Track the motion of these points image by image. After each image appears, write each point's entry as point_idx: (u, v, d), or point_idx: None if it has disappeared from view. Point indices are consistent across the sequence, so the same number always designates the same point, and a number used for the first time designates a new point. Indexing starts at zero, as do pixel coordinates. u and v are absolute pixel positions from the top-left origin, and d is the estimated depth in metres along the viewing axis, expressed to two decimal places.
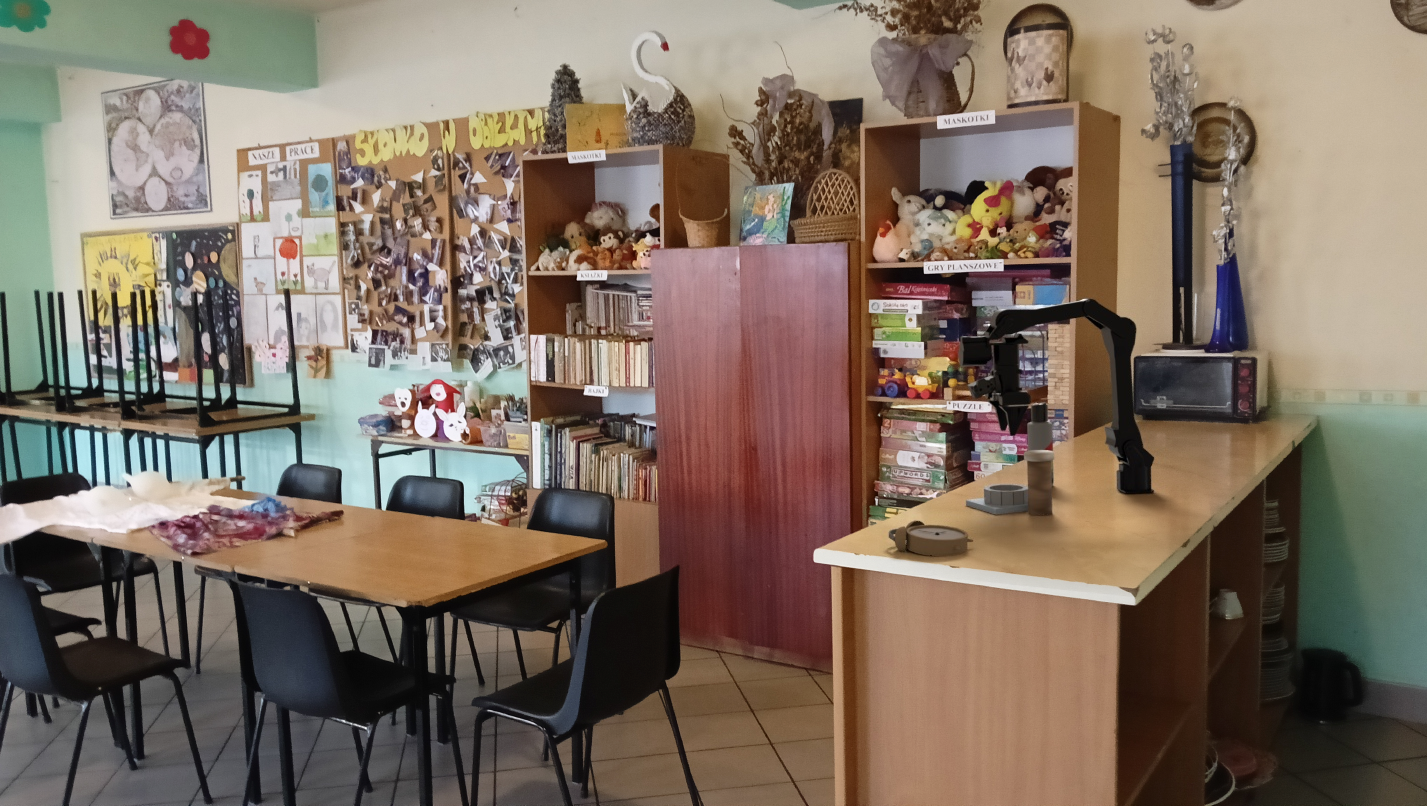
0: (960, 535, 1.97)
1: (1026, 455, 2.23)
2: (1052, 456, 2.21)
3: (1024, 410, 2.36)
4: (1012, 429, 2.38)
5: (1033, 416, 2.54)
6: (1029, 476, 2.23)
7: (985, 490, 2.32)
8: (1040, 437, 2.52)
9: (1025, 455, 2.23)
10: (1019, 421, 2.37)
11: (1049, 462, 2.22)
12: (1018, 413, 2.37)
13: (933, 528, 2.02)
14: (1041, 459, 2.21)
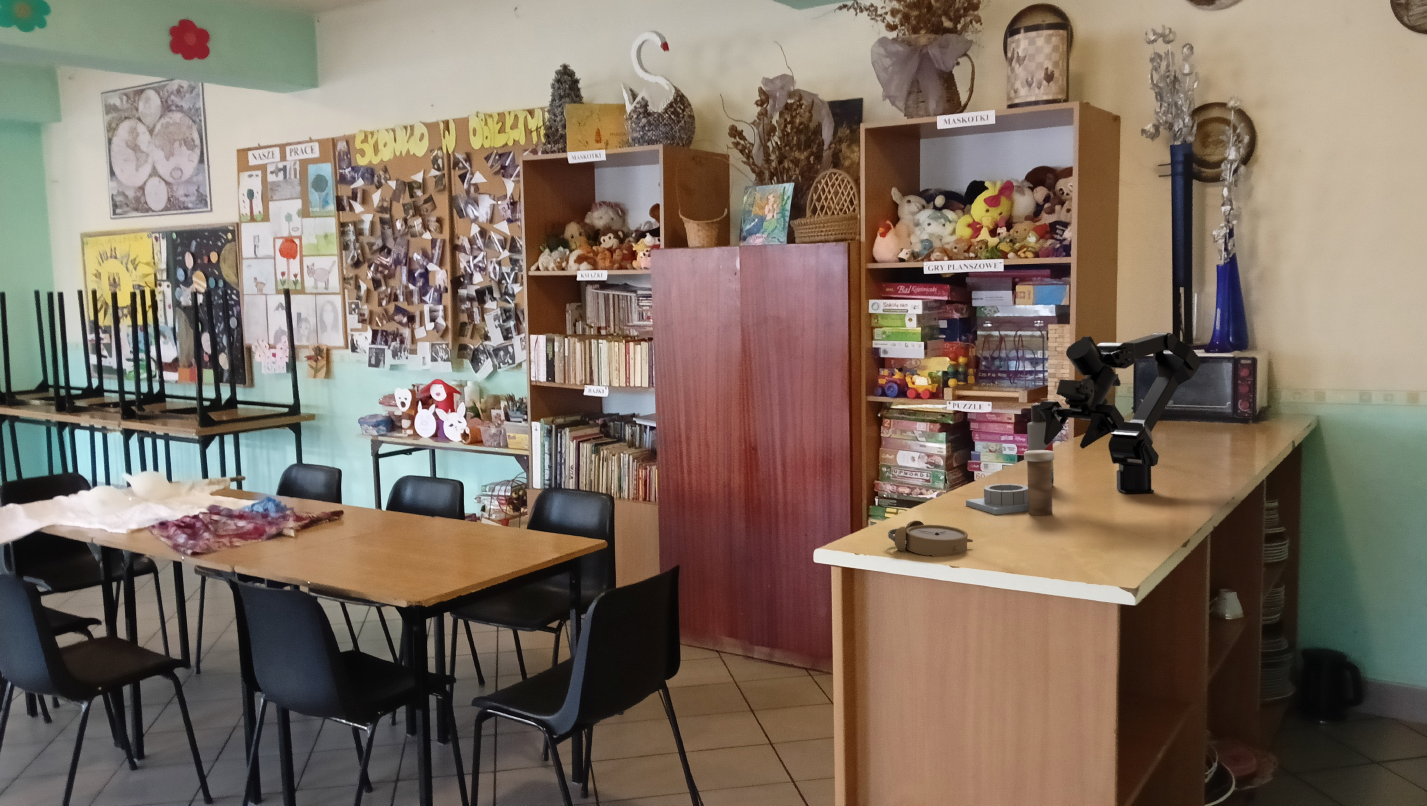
0: (960, 535, 1.97)
1: (1026, 455, 2.23)
2: (1052, 456, 2.21)
3: (1106, 433, 2.25)
4: (1086, 441, 2.24)
5: (1033, 416, 2.54)
6: (1029, 476, 2.23)
7: (985, 490, 2.32)
8: (1040, 437, 2.52)
9: (1025, 455, 2.23)
10: (1095, 439, 2.25)
11: (1049, 462, 2.22)
12: (1099, 431, 2.25)
13: (933, 528, 2.02)
14: (1041, 459, 2.21)
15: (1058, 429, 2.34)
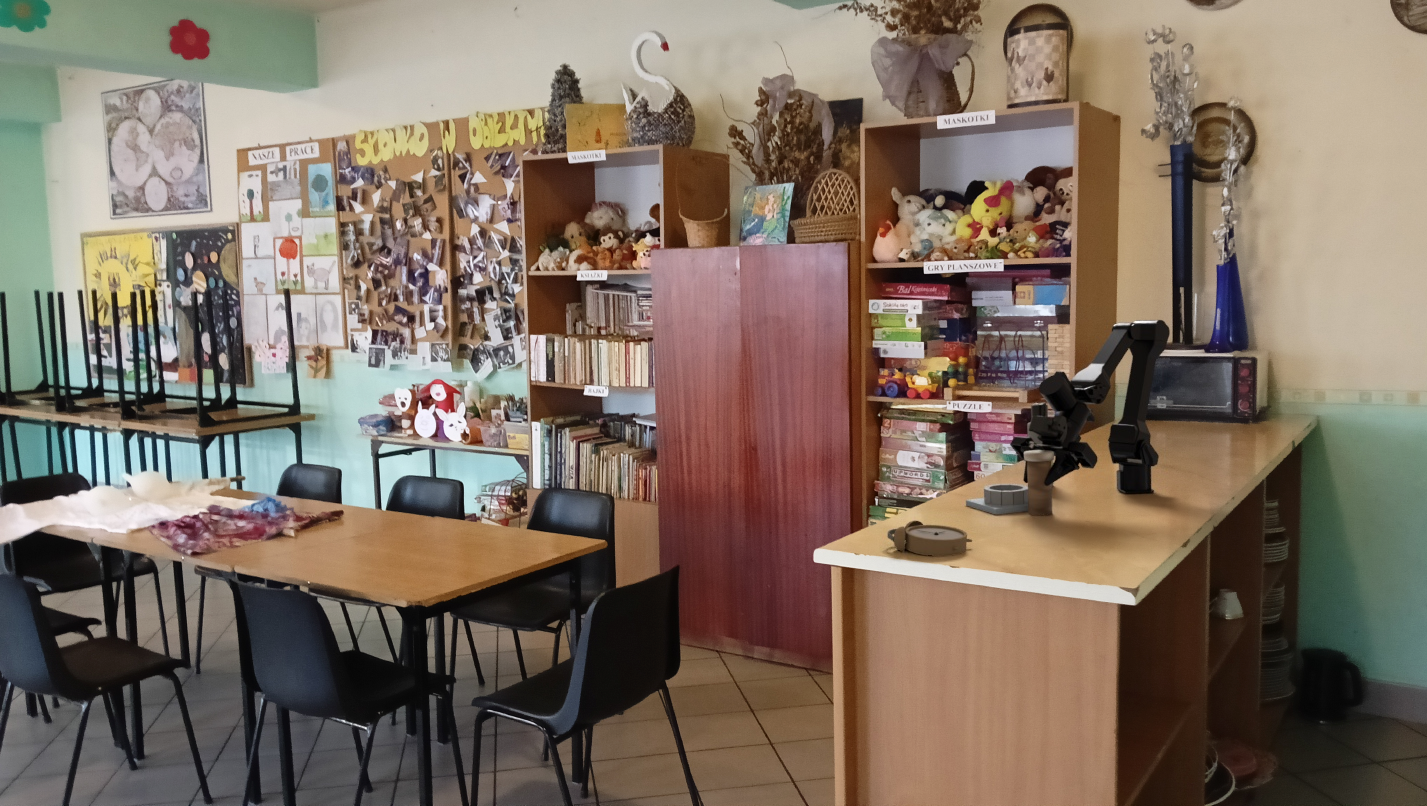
0: (959, 535, 1.97)
1: (1026, 455, 2.23)
2: (1052, 456, 2.21)
3: (1071, 470, 2.22)
4: (1050, 478, 2.21)
5: None
6: (1029, 476, 2.23)
7: (985, 490, 2.32)
8: None
9: (1025, 455, 2.23)
10: (1060, 476, 2.22)
11: (1049, 462, 2.22)
12: (1064, 469, 2.22)
13: (932, 528, 2.02)
14: (1041, 459, 2.21)
15: None
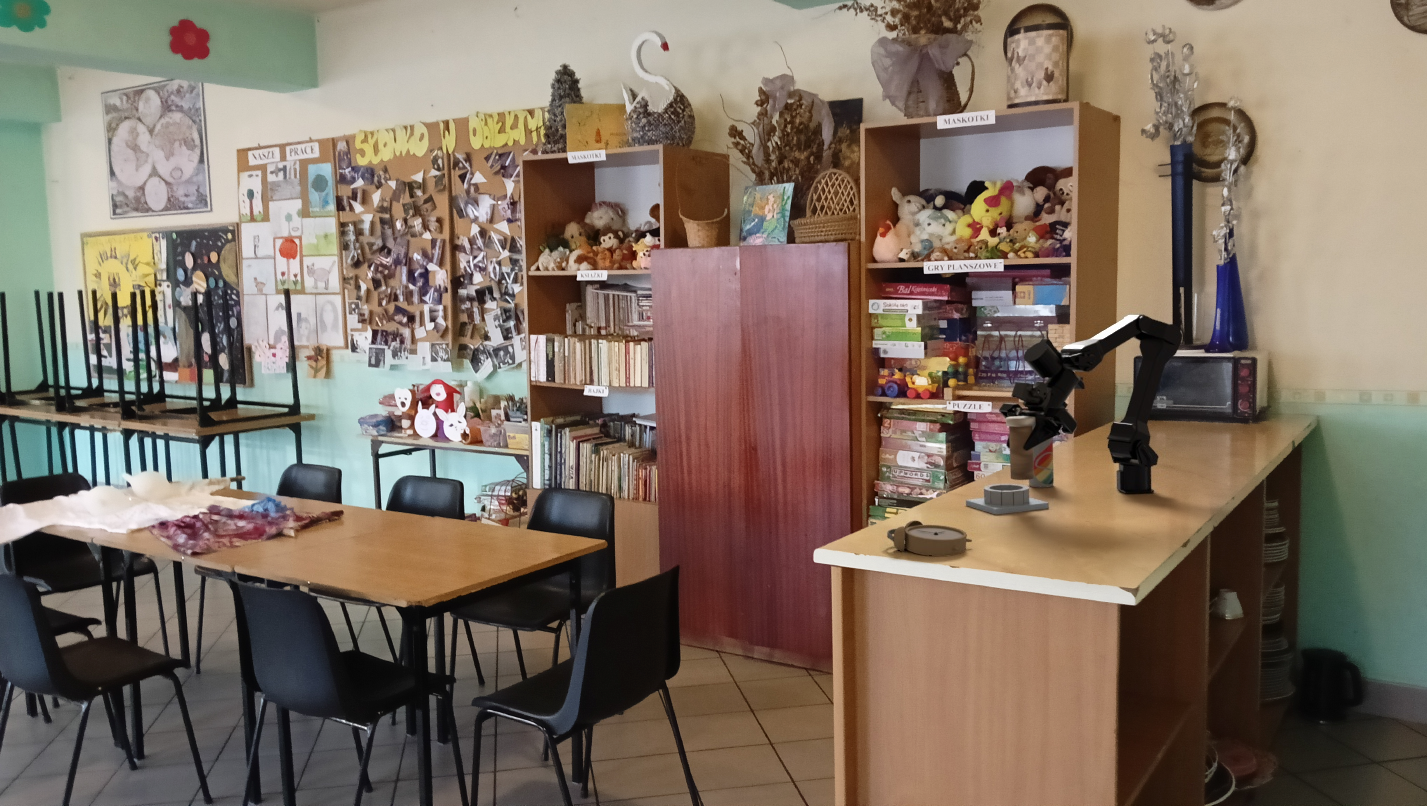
0: (959, 535, 1.97)
1: (1007, 421, 2.27)
2: (1032, 421, 2.25)
3: (1052, 435, 2.26)
4: (1030, 443, 2.25)
5: None
6: (1010, 441, 2.28)
7: (985, 490, 2.32)
8: None
9: (1006, 420, 2.28)
10: (1040, 441, 2.25)
11: (1029, 427, 2.26)
12: (1045, 434, 2.26)
13: (931, 528, 2.02)
14: (1020, 424, 2.25)
15: None
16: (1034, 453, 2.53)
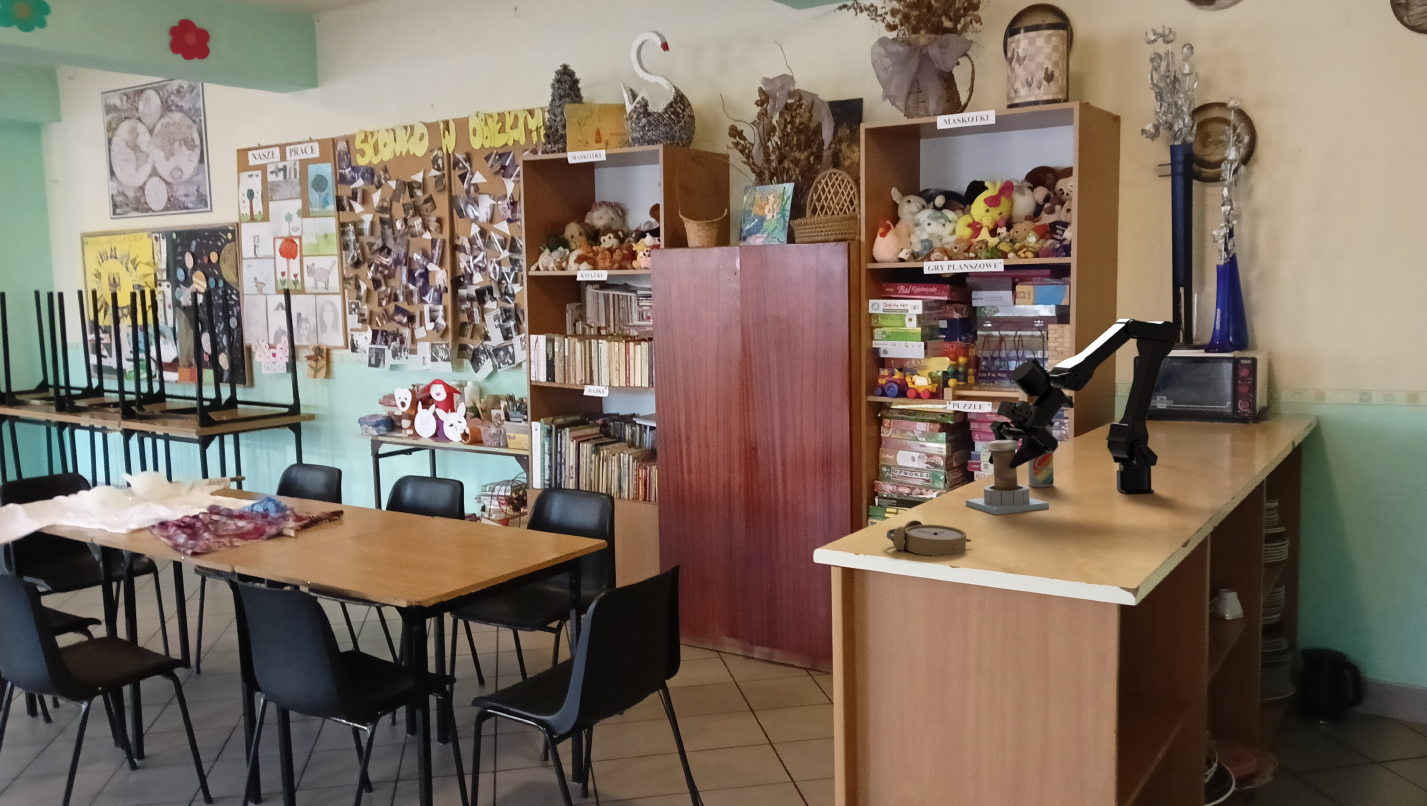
0: (958, 535, 1.98)
1: (989, 445, 2.32)
2: (1013, 446, 2.29)
3: (1038, 454, 2.28)
4: (1015, 462, 2.28)
5: None
6: (993, 465, 2.32)
7: (985, 490, 2.32)
8: None
9: (989, 445, 2.32)
10: (1026, 460, 2.28)
11: (1011, 452, 2.30)
12: (1031, 453, 2.28)
13: (931, 528, 2.02)
14: (1001, 449, 2.29)
15: None
16: None
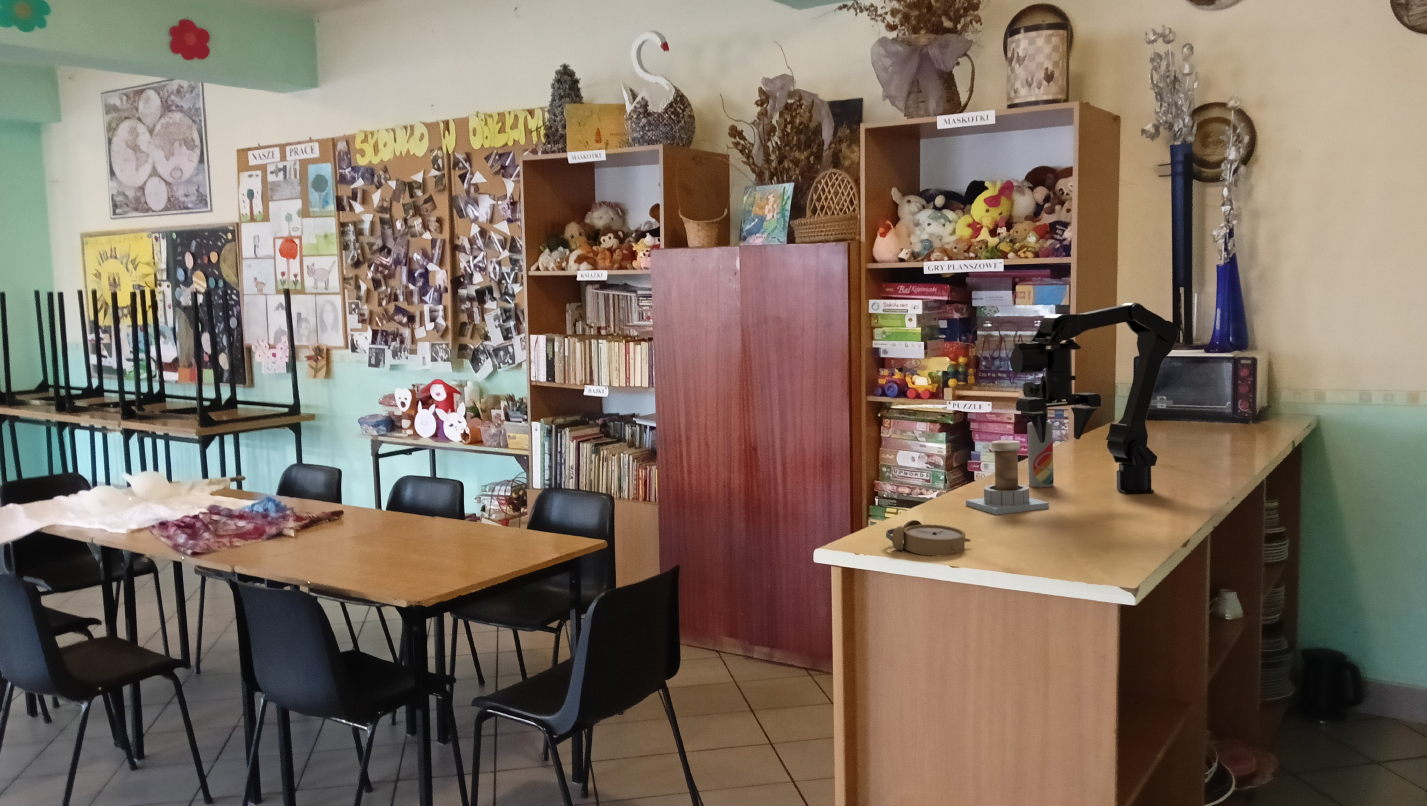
0: (957, 535, 1.98)
1: (992, 444, 2.32)
2: (1016, 446, 2.29)
3: (1039, 418, 2.33)
4: (1038, 436, 2.36)
5: None
6: (995, 465, 2.32)
7: (985, 490, 2.32)
8: None
9: None
10: (1040, 429, 2.35)
11: (1013, 452, 2.30)
12: None
13: (930, 528, 2.03)
14: (1003, 449, 2.29)
15: (1082, 416, 2.37)
16: (1034, 453, 2.53)
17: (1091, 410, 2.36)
